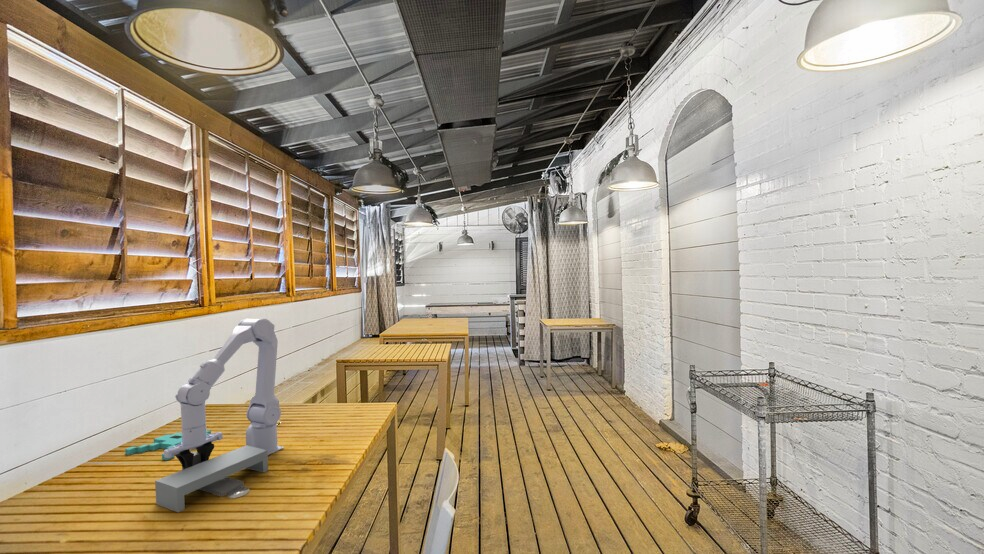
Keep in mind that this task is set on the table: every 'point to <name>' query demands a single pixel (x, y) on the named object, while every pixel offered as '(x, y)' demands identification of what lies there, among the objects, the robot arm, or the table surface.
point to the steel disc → (238, 492)
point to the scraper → (221, 485)
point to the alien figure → (160, 444)
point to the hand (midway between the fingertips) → (195, 473)
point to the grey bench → (207, 475)
